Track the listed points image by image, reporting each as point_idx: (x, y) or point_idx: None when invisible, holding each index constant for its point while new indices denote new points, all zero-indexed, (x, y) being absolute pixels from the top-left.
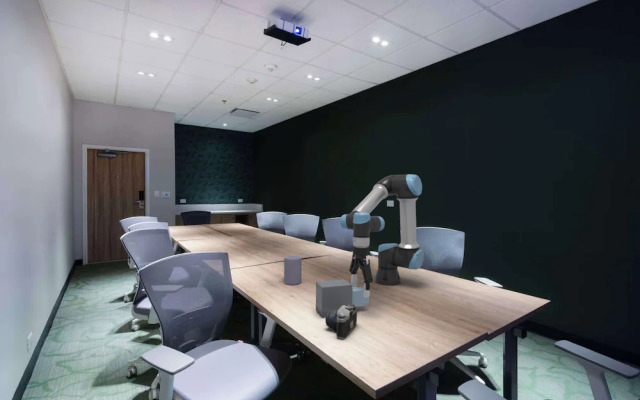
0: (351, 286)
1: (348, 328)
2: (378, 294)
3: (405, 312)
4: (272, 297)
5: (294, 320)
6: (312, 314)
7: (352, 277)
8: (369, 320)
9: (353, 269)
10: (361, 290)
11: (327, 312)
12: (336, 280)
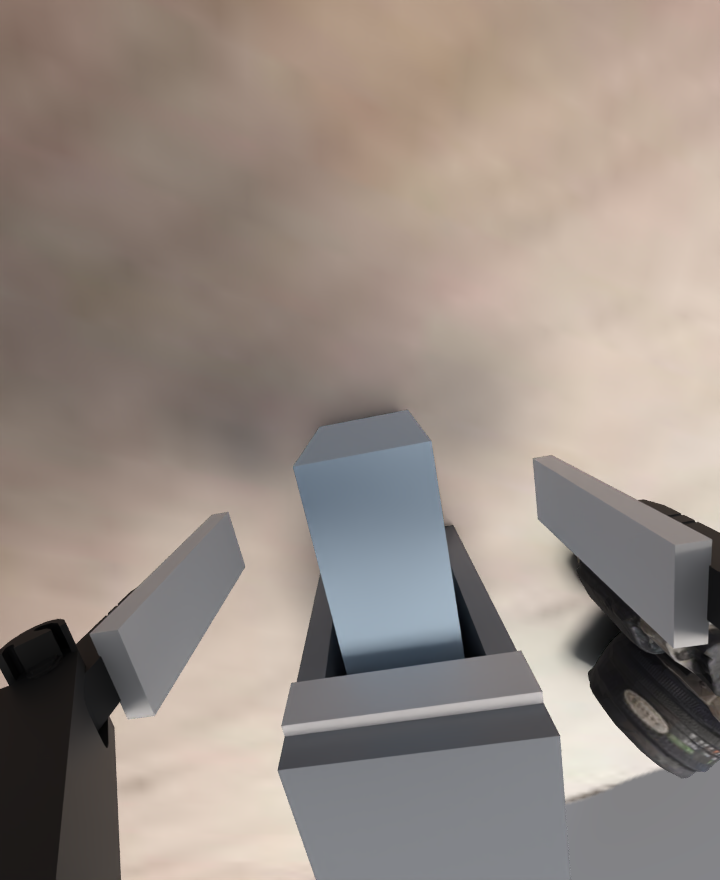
0: (548, 723)
1: None
2: (20, 199)
3: (471, 83)
4: (169, 860)
5: None
6: None
7: (177, 663)
8: (561, 439)
9: (120, 873)
10: (444, 532)
11: (684, 776)
12: (330, 857)
